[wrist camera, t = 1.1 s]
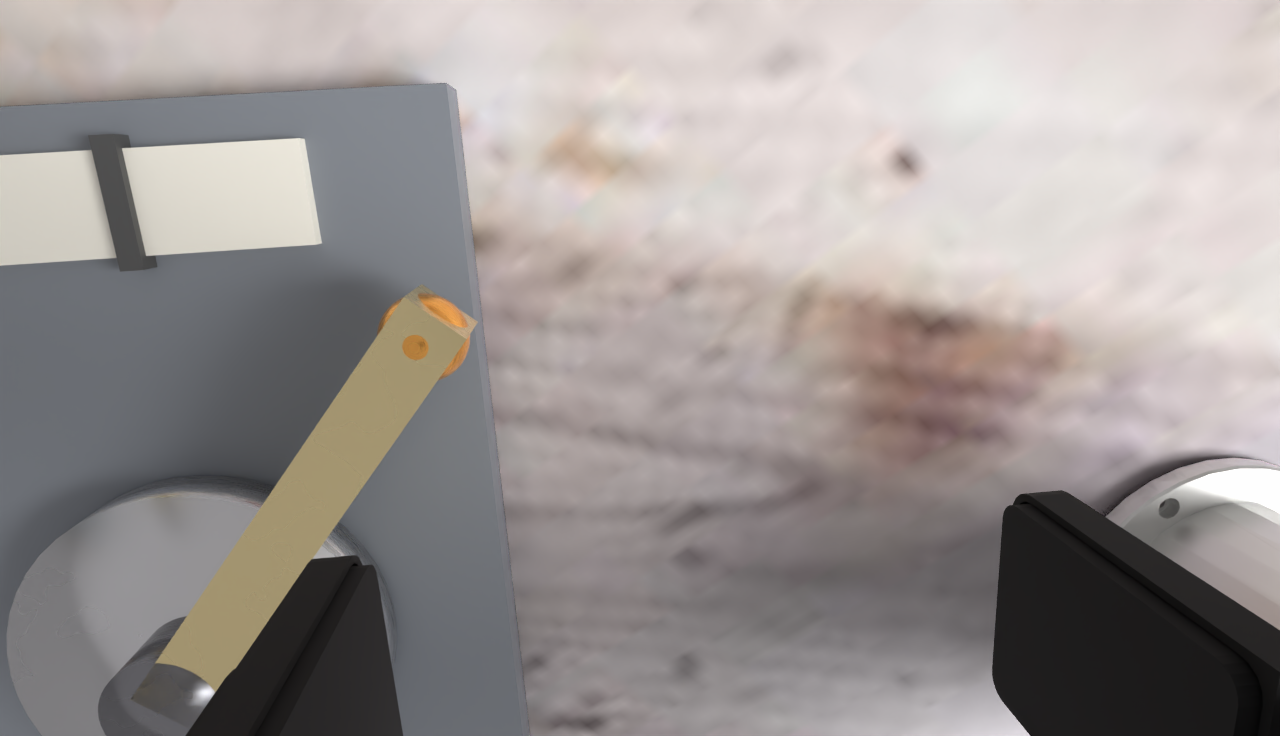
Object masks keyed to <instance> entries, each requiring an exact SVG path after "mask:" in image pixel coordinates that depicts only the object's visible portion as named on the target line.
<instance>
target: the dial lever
mask: <svg viewBox="0 0 1280 736" xmlns="http://www.w3.org/2000/svg"><path fill="white" fill-rule="evenodd" d="M477 323H478V322H477V321H476V320H474V319H473V318H471V317H470V316H468V315H467V314H466V313H464V312H463V311H461V310H460V309H458V308H457V307H456V306H455V305H454V304H453V303H452V302H450V301H449V300H447V299H445V298H443V297H441V296H439V295H438V294H436V293H435V292H433V291H432V290H430V289H429V288H427V287H426V286H424V285H423V284H421V285H420V286H418V287H417V288H415V289H414V290H413V291H411V292H410V293H409V294H407V295H406V296H404V297H403V298H401V299H399V300H397V301H396V302H394V303H393V304H392V305H391V306H390V307H389V308H388V309H387V310H386V311H385V313H384V314H383V316H382V318H381V320H380V322H379V326H378V330H377V337H376V339H375V340H374V342H373V343H372V344H371V346H370V347H369V349H368V350H367V352H366V353H365V355H364V356H363V358H362V359H361V361H360V362H359V364H358V365H357V367H356V368H355V369H354V371H353V372H352V374H351V375H350V377H349V378H348V380H347V381H346V383H345V384H344V386H343V387H342V389H341V390H340V392H339V393H338V395H337V396H336V397H335V399H334V400H333V402H332V403H331V405H330V406H329V408H328V409H327V411H326V412H325V414H324V415H323V417H322V418H321V420H320V421H319V422H318V424H317V425H316V427H315V428H314V430H313V431H312V433H311V434H310V436H309V437H308V439H307V440H306V442H305V443H304V445H303V446H302V448H301V449H300V450H299V452H298V453H297V455H296V456H295V458H294V459H293V461H292V462H291V464H290V465H289V467H288V468H287V470H286V471H285V473H284V474H283V475H282V477H281V478H280V480H279V481H278V483H277V484H276V486H272V485H269V484H265V483H261V482H257V481H253V480H249V479H244V478H236V477H228V476H208V475H196V476H187V477H177V478H171V479H167V480H162V481H158V482H154V483H150V484H147V485H144V486H142V487H139V488H136V489H134V490H131V491H128V492H126V493H125V494H123V495H121V496H119V497H117V498H115V499H113V500H111V501H109V502H108V503H106V504H105V505H104V506H102V507H101V508H99V509H98V510H97V511H95V512H94V513H92V514H91V515H89V516H88V517H87V518H85V519H84V520H82V521H81V522H79V523H78V524H77V525H75V526H74V527H72V528H71V529H70V530H68V531H67V532H66V533H64V534H63V535H61V536H60V537H59V538H57V539H56V540H55V541H54V542H53V543H52V544H51V545H50V546H49V547H48V548H47V549H46V550H45V551H44V552H43V553H42V554H41V555H39V557H38V558H37V559H36V561H35V562H34V564H33V565H32V566H31V568H30V569H29V570H28V572H27V573H26V575H25V577H24V579H23V580H22V582H21V584H20V586H19V588H18V590H17V592H16V595H15V598H14V601H13V604H12V607H11V610H10V614H9V621H8V627H7V658H8V663H9V669H10V675H11V678H12V681H13V684H14V687H15V690H16V693H17V696H18V698H19V700H20V702H21V704H22V705H23V707H24V709H25V711H26V713H27V715H28V717H29V718H30V720H31V721H32V722H33V724H34V725H35V727H36V728H37V730H38V731H39V733H40V734H41V735H42V736H186V734H187V733H188V731H189V730H190V728H191V727H192V725H193V724H194V723H195V721H196V720H197V718H198V717H199V715H200V714H201V712H202V711H203V710H204V708H205V707H206V705H207V704H208V702H209V701H210V699H211V698H212V697H213V695H214V694H215V692H216V691H217V689H218V688H219V686H220V685H221V684H222V682H223V681H224V679H225V678H226V677H227V676H228V675H229V673H230V672H231V671H232V670H233V669H236V667H237V666H238V664H239V663H240V662H241V660H242V659H243V657H244V656H245V654H246V653H247V651H248V650H249V648H250V647H251V645H252V644H253V643H254V641H255V640H256V638H257V637H258V635H259V634H260V632H261V631H262V629H263V628H264V626H265V625H266V624H267V622H268V621H269V619H270V618H271V616H272V615H273V613H274V612H275V610H276V609H277V607H278V606H279V605H280V603H281V602H282V600H283V599H284V597H285V596H286V594H287V593H288V591H289V590H290V589H291V587H292V586H293V584H294V583H295V581H296V580H297V578H298V577H299V575H300V574H301V572H302V571H303V570H304V568H305V567H306V565H307V564H308V562H309V561H310V560H311V559H318V558H328V557H339V556H350V555H357V556H358V557H359V558H360V560H361V563H362V565H371V564H372V565H373V566H374V567H375V570H376V573H377V577H378V584H379V590H380V596H381V602H382V608H383V614H384V620H385V627H386V633H387V639H388V645H389V651H390V657H391V663H392V667H393V664H394V660H395V653H396V645H397V625H396V617H395V611H394V606H393V601H392V599H391V596H390V593H389V590H388V587H387V584H386V582H385V580H384V578H383V576H382V574H381V572H380V570H379V568H378V566H377V564H376V563H375V562H374V560H373V559H372V557H371V556H370V554H369V553H368V552H367V550H366V549H365V547H364V546H363V545H362V544H361V543H360V542H359V541H358V540H357V539H356V537H355V536H354V535H353V534H352V533H351V532H350V531H349V530H348V529H347V528H345V527H344V526H343V525H342V524H341V523H340V522H339V520H340V519H341V518H342V516H343V515H344V513H345V512H346V510H347V509H348V508H349V506H350V505H351V503H352V502H353V500H354V499H355V498H356V496H357V495H358V493H359V492H360V490H361V489H362V488H363V486H364V485H365V483H366V482H367V481H368V479H369V478H370V476H371V475H372V473H373V472H374V471H375V469H376V468H377V466H378V465H379V463H380V462H381V461H382V459H383V458H384V456H385V455H386V453H387V452H388V451H389V449H390V448H391V446H392V445H393V443H394V442H395V441H396V439H397V438H398V436H399V435H400V434H401V432H402V431H403V429H404V428H405V426H406V425H407V424H408V422H409V421H410V419H411V418H412V416H413V415H414V414H415V412H416V411H417V409H418V408H419V406H420V405H421V404H422V402H423V401H424V399H425V398H426V397H427V395H428V394H429V392H430V391H431V389H432V388H433V387H434V385H435V384H436V382H437V381H438V380H441V379H443V378H445V377H447V376H449V375H451V374H452V373H453V372H454V371H456V370H457V369H458V368H459V366H460V365H461V364H462V363H463V361H464V359H465V358H466V355H467V353H468V349H469V345H470V333H471V332H472V330H473V329H474V327H475V326H476V324H477Z"/></svg>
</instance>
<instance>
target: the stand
mask: <svg viewBox="0 0 1280 736" xmlns="http://www.w3.org/2000/svg"><path fill="white" fill-rule="evenodd" d="M421 284H423V285H424V286H426V287H427V288H429V289H430V290H432V291H433V292H435V293H436V294H438V295H439V296H441V297H443V298H445V299H447V300H449V301H450V302H452V303H453V304H454V305H455V306H456V307H457V308H458V309H460V310H461V311H463V312H464V313H466V314H467V315H468V316H470V317H471V318H473V319H474V320H476V321H477V322H478V323H477V324H476V326H475V327H474V329H473V330H472V332H471V333H470V345H469V349H468V353H467V355H466V358H465V359H464V361H463V363H462V364H461V365H460V366H459V368H458V369H457V370H456V371H454V372H453V373H452V374H451V375H449V376H447V377H445V378H443V379H441V380H438V381H437V382H436V384H435V385H434V387H433V388H432V389H431V391H430V392H429V394H428V395H427V397H426V398H425V399H424V401H423V402H422V404H421V405H420V406H419V408H418V409H417V411H416V412H415V414H414V415H413V416H412V418H411V419H410V421H409V422H408V424H407V425H406V426H405V428H404V429H403V431H402V432H401V434H400V435H399V436H398V438H397V439H396V441H395V442H394V443H393V445H392V446H391V448H390V449H389V451H388V452H387V453H386V455H385V456H384V458H383V459H382V461H381V462H380V463H379V465H378V466H377V468H376V469H375V471H374V472H373V473H372V475H371V476H370V478H369V479H368V481H367V482H366V483H365V485H364V486H363V488H362V489H361V490H360V492H359V493H358V495H357V496H356V498H355V499H354V500H353V502H352V503H351V505H350V506H349V508H348V509H347V510H346V512H345V513H344V515H343V516H342V518H341V519H340V520H339V522H340V523H341V524H342V525H343V526H344V527H345V528H347V529H348V530H349V531H350V532H351V533H352V534H353V535H354V536H355V537H356V539H357V540H358V541H359V542H360V543H361V544H362V545H363V546H364V547H365V549H366V550H367V552H368V553H369V554H370V556H371V557H372V559H373V560H374V562H375V563H376V564H377V566H378V568H379V570H380V572H381V574H382V576H383V578H384V580H385V582H386V584H387V587H388V590H389V593H390V596H391V599H392V601H393V606H394V611H395V617H396V625H397V645H396V653H395V660H394V664H393V667H392V670H393V676H394V682H395V688H396V694H397V700H398V706H399V713H400V719H401V725H402V731H403V736H530V731H529V723H528V714H527V705H526V696H525V688H524V679H523V670H522V661H521V653H520V644H519V635H518V626H517V618H516V609H515V600H514V591H513V583H512V574H511V565H510V556H509V548H508V539H507V530H506V521H505V513H504V504H503V495H502V487H501V478H500V469H499V460H498V452H497V443H496V434H495V425H494V417H493V408H492V399H491V390H490V382H489V373H488V364H487V355H486V347H485V338H484V329H483V320H482V312H481V303H480V294H479V286H478V277H477V268H476V259H475V251H474V242H473V233H472V224H471V216H470V207H469V198H468V189H467V181H466V172H465V163H464V154H463V146H462V137H461V128H460V119H459V111H458V102H457V93H456V89H454V88H453V87H451V86H450V85H448V84H447V83H437V84H418V85H399V86H380V87H361V88H343V89H324V90H305V91H286V92H268V93H249V94H230V95H211V96H193V97H174V98H155V99H136V100H117V101H99V102H80V103H61V104H42V105H24V106H5V107H0V736H42V735H41V734H40V733H39V731H38V730H37V728H36V727H35V725H34V724H33V722H32V721H31V720H30V718H29V717H28V715H27V713H26V711H25V709H24V707H23V705H22V704H21V702H20V700H19V698H18V696H17V693H16V690H15V687H14V684H13V681H12V678H11V675H10V669H9V663H8V658H7V627H8V621H9V614H10V610H11V607H12V604H13V601H14V598H15V595H16V592H17V590H18V588H19V586H20V584H21V582H22V580H23V579H24V577H25V575H26V573H27V572H28V570H29V569H30V568H31V566H32V565H33V564H34V562H35V561H36V559H37V558H38V557H39V555H41V554H42V553H43V552H44V551H45V550H46V549H47V548H48V547H49V546H50V545H51V544H52V543H53V542H54V541H55V540H56V539H57V538H59V537H60V536H61V535H63V534H64V533H66V532H67V531H68V530H70V529H71V528H72V527H74V526H75V525H77V524H78V523H79V522H81V521H82V520H84V519H85V518H87V517H88V516H89V515H91V514H92V513H94V512H95V511H97V510H98V509H99V508H101V507H102V506H104V505H105V504H106V503H108V502H109V501H111V500H113V499H115V498H117V497H119V496H121V495H123V494H125V493H126V492H128V491H131V490H134V489H136V488H139V487H142V486H144V485H147V484H150V483H154V482H158V481H162V480H167V479H171V478H177V477H187V476H196V475H208V476H228V477H236V478H244V479H249V480H253V481H257V482H261V483H265V484H269V485H272V486H276V484H277V483H278V481H279V480H280V478H281V477H282V475H283V474H284V473H285V471H286V470H287V468H288V467H289V465H290V464H291V462H292V461H293V459H294V458H295V456H296V455H297V453H298V452H299V450H300V449H301V448H302V446H303V445H304V443H305V442H306V440H307V439H308V437H309V436H310V434H311V433H312V431H313V430H314V428H315V427H316V425H317V424H318V422H319V421H320V420H321V418H322V417H323V415H324V414H325V412H326V411H327V409H328V408H329V406H330V405H331V403H332V402H333V400H334V399H335V397H336V396H337V395H338V393H339V392H340V390H341V389H342V387H343V386H344V384H345V383H346V381H347V380H348V378H349V377H350V375H351V374H352V372H353V371H354V369H355V368H356V367H357V365H358V364H359V362H360V361H361V359H362V358H363V356H364V355H365V353H366V352H367V350H368V349H369V347H370V346H371V344H372V343H373V342H374V340H375V339H376V337H377V330H378V326H379V322H380V320H381V318H382V316H383V314H384V313H385V311H386V310H387V309H388V308H389V307H390V306H391V305H392V304H393V303H394V302H396V301H397V300H399V299H401V298H403V297H404V296H406V295H407V294H409V293H410V292H411V291H413V290H414V289H415V288H417V287H418V286H420V285H421Z"/></svg>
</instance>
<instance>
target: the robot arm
mask: <svg viewBox="0 0 1280 736" xmlns="http://www.w3.org/2000/svg"><path fill="white" fill-rule="evenodd" d="M992 675H993V681H994V685H995V688H996V691H997V693H998V695H999V697H1000V698H1001V700H1002V701H1003V702H1004V704H1005V705H1006V706H1007V707H1008V709H1009V710H1010V711H1011V712H1012V713H1013V715H1014V716H1015V717H1016V718H1017V720H1018V721H1019V722H1020V723H1021V725H1022V726H1023V727H1024V728H1025V730H1026V731H1027V732H1028V733H1029V734H1030V736H1280V466H1277V465H1274V464H1271V463H1268V462H1265V461H1262V460H1253V459H1243V458H1225V459H1214V460H1206V461H1202V462H1199V463H1195V464H1191V465H1188V466H1184V467H1180V468H1178V469H1175V470H1173V471H1171V472H1169V473H1167V474H1165V475H1162V476H1160V477H1158V478H1156V479H1154V480H1152V481H1150V482H1149V483H1147V484H1146V485H1144V486H1143V487H1141V488H1140V489H1138V490H1137V491H1135V492H1134V493H1132V494H1131V495H1129V496H1128V497H1126V498H1125V499H1124V500H1123V501H1122V502H1121V503H1120V504H1119V505H1118V506H1117V507H1115V508H1114V509H1113V510H1112V511H1111V512H1110V513H1109V514H1108V515H1107V516H1106V517H1104V516H1103V515H1101V514H1100V513H1098V512H1097V511H1095V510H1094V509H1092V508H1091V507H1089V506H1087V505H1086V504H1084V503H1083V502H1081V501H1080V500H1078V499H1077V498H1075V497H1074V496H1072V495H1071V494H1069V493H1067V492H1065V491H1062V490H1061V491H1051V492H1040V493H1029V494H1020V495H1019V496H1018V497H1017V498H1016V499H1015V501H1014V503H1013V505H1010V506H1008V507H1007V508H1006V509H1005V511H1004V514H1003V523H1002V537H1001V551H1000V566H999V580H998V594H997V609H996V623H995V638H994V652H993V666H992ZM186 736H403V731H402V725H401V719H400V713H399V706H398V700H397V694H396V688H395V682H394V676H393V670H392V663H391V657H390V651H389V645H388V639H387V633H386V627H385V620H384V614H383V608H382V602H381V596H380V590H379V584H378V577H377V573H376V570H375V567H374V566H373V565H372V564H371V565H362V563H361V560H360V558H359V557H358V556H357V555H350V556H339V557H328V558H318V559H311V560H310V561H309V562H308V564H307V565H306V567H305V568H304V570H303V571H302V572H301V574H300V575H299V577H298V578H297V580H296V581H295V583H294V584H293V586H292V587H291V589H290V590H289V591H288V593H287V594H286V596H285V597H284V599H283V600H282V602H281V603H280V605H279V606H278V607H277V609H276V610H275V612H274V613H273V615H272V616H271V618H270V619H269V621H268V622H267V624H266V625H265V626H264V628H263V629H262V631H261V632H260V634H259V635H258V637H257V638H256V640H255V641H254V643H253V644H252V645H251V647H250V648H249V650H248V651H247V653H246V654H245V656H244V657H243V659H242V660H241V662H240V663H239V664H238V666H237V667H236V669H233V670H232V671H231V672H230V673H229V675H228V676H227V677H226V678H225V679H224V681H223V682H222V684H221V685H220V686H219V688H218V689H217V691H216V692H215V694H214V695H213V697H212V698H211V699H210V701H209V702H208V704H207V705H206V707H205V708H204V710H203V711H202V712H201V714H200V715H199V717H198V718H197V720H196V721H195V723H194V724H193V725H192V727H191V728H190V730H189V731H188V733H187V734H186Z"/></svg>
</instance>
